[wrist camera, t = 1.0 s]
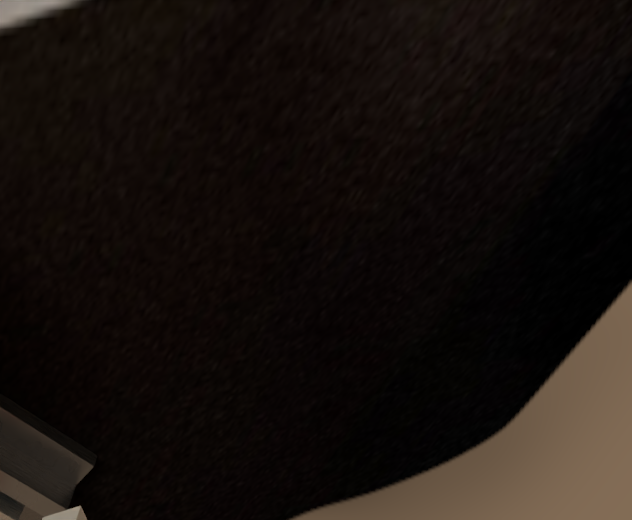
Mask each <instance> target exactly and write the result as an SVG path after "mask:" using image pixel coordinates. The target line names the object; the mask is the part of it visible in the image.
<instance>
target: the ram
mask: <svg viewBox="0 0 632 520" xmlns="http://www.w3.org/2000/svg"><path fill="white" fill-rule="evenodd" d="M24 507H25V505H23V504H22V503H20V502H18V501H16V500H15V499H13V498H11V497H10V496H8V495H6V494H4V493H3V492H1V491H0V520H19V518H20V515H21V513H22V511H23V509H24Z"/></svg>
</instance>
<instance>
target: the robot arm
mask: <svg viewBox="0 0 632 520" xmlns="http://www.w3.org/2000/svg"><path fill="white" fill-rule="evenodd" d="M42 520H87V518H86V516H85V514H84V512H83V509H82V507H81V506H78V507H75V508H72V509H68V510H65V511H62V512H59V513H55V514H52V515H49V516H46V517H43V518H42Z"/></svg>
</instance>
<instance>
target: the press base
mask: <svg viewBox="0 0 632 520" xmlns="http://www.w3.org/2000/svg"><path fill="white" fill-rule="evenodd" d="M96 459H97V455H96V454H94V453H93V452H91V451H90V450H88V449H87V448H85V447H84V446H82V445H80V444H79V443H77V442H76V441H74V440H73V439H71V438H70V437H68V436H66V435H65V434H63V433H62V432H60V431H59V430H57V429H55V428H54V427H52V426H51V425H49V424H48V423H46V422H45V421H43V420H41V419H40V418H38V417H37V416H35V415H34V414H32V413H31V412H29V411H27V410H26V409H24V408H23V407H21V406H20V405H18V404H17V403H15V402H13V401H12V400H10V399H9V398H7V397H6V396H4V395H3V394H1V393H0V491H1V492H3V493H4V494H6V495H8V496H10V497H11V498H13V499H15V500H16V501H18V502H20V503H22V504H23V505H25V507H24V509H23V511H22V513H21V515H20V518H19V520H42V518H43V517H46V516H49V515H52V514H55V513H59V512H62V511H65V510H68V507H69V505H70V502H71V499H72V496H73V493H74V490H75V487H76V485H77V484H78V483H79V482H80V481H81V480H82V479H83V478H84V476H85V475H86V474H87V473H88V472H89V471H90V470H91V469H92V468H93V467H94V465H95V462H96Z"/></svg>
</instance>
